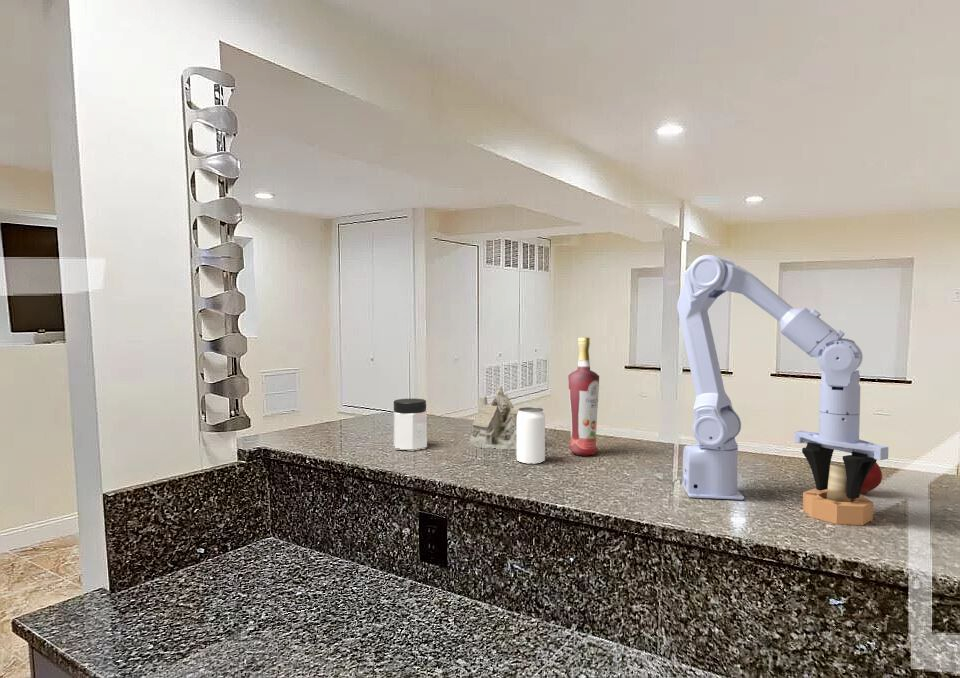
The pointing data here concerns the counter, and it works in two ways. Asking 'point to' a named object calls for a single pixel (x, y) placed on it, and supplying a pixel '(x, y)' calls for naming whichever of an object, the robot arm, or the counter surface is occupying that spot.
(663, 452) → the counter surface
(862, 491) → the onion
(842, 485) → the dowel
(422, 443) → the jar
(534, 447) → the can
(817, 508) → the orange faceted ring
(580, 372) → the liquor
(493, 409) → the ceramic cottage
